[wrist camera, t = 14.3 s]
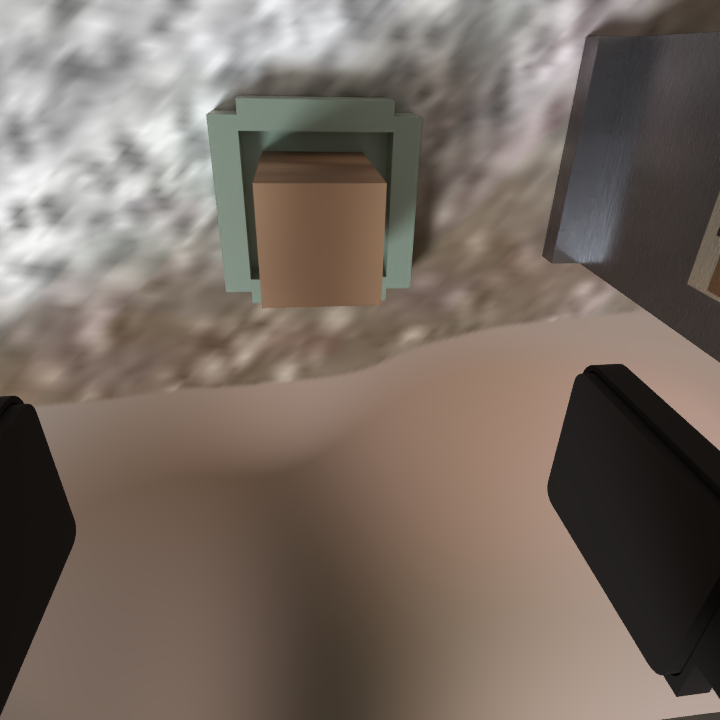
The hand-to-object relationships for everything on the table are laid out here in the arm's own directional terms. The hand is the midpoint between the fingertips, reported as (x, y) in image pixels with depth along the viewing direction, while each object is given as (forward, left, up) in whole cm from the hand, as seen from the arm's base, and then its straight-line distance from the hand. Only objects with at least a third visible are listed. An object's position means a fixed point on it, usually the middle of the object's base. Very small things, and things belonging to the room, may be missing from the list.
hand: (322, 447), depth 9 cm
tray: (+1, 0, -19) cm, 19 cm away
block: (+1, 0, -18) cm, 18 cm away
